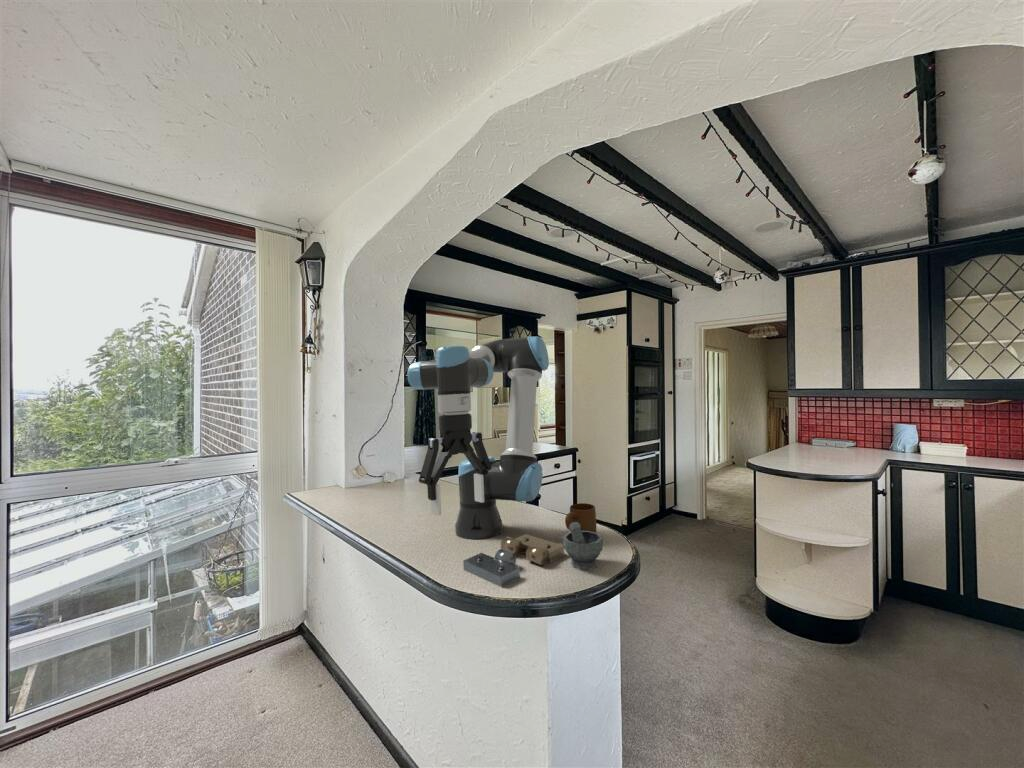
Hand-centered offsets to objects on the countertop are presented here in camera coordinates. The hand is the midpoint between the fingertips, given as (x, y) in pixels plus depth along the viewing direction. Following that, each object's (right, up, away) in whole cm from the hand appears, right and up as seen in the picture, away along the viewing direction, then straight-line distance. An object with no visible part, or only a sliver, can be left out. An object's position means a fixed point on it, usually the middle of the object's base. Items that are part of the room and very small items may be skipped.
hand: (458, 507), depth 94 cm
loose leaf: (+9, -18, +8) cm, 21 cm away
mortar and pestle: (+30, -17, +8) cm, 36 cm away
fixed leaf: (+18, -18, +17) cm, 30 cm away
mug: (+32, -17, +25) cm, 44 cm away
